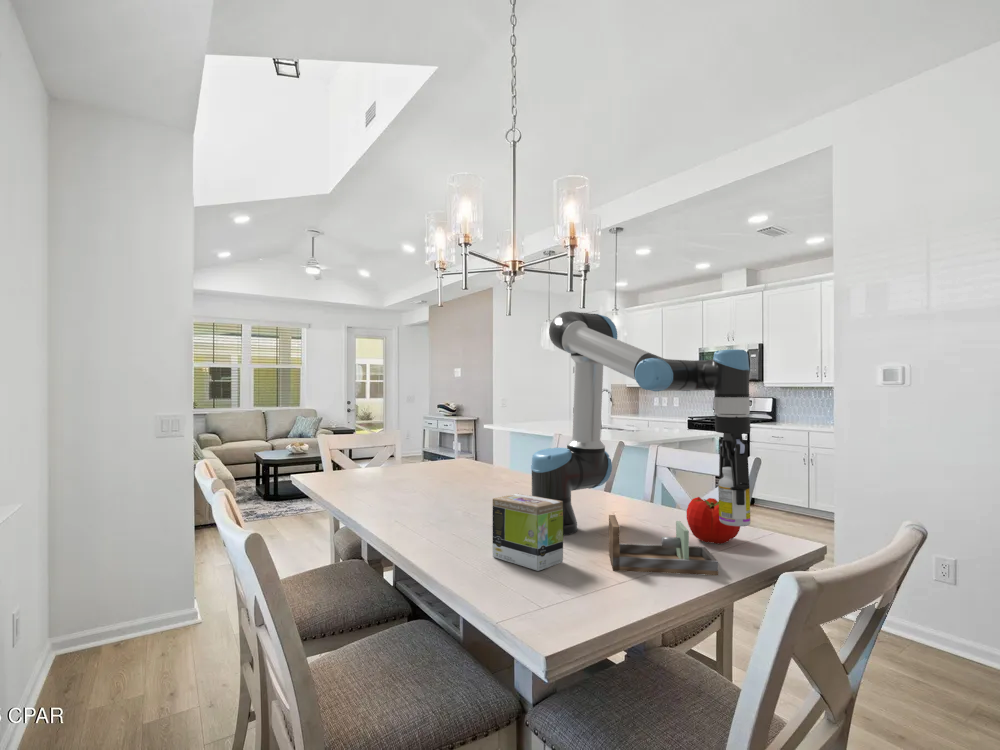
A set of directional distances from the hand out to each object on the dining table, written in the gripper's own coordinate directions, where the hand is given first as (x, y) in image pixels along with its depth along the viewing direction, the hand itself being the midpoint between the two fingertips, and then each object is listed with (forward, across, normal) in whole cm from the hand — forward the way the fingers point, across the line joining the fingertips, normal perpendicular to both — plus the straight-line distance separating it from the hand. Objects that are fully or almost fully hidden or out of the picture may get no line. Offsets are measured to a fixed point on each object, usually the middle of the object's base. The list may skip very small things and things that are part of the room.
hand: (734, 514), depth 120 cm
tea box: (+12, 0, +48) cm, 50 cm away
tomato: (+12, +22, -1) cm, 25 cm away
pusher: (+11, 0, +14) cm, 18 cm away
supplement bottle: (+2, 0, 0) cm, 2 cm away
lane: (+12, 0, +17) cm, 21 cm away
